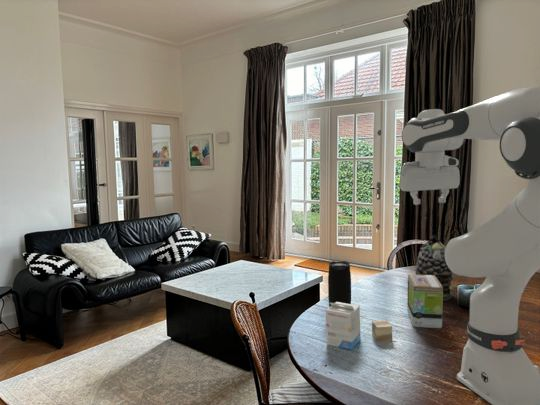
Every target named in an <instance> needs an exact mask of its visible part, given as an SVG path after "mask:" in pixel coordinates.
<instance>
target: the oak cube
mask: <svg viewBox="0 0 540 405" xmlns="http://www.w3.org/2000/svg"><path fill="white" fill-rule="evenodd" d="M371 337H372V338H374V340H375V341H376V342H377V343H383V342H393V325H392V324H391V323H390V322H389V321H388V320H387V319H383V320H380V319H379V320H372V321H371Z"/></svg>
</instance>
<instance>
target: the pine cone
mask: <svg viewBox="0 0 540 405" xmlns="http://www.w3.org/2000/svg"><path fill="white" fill-rule="evenodd" d="M445 248H446V244H443V243H442V241H441V240H440V239H438V238H437V235H436V234H432V237H431V238H429V239H428V241H426V243H423V245H422V246H421V247H420V248H419V252H418V255H417V258H416V260H417V261H416V267H415V270H414V271H415V273H414V275H435V277H436V278H437V279H438V281H439V282H440V284H441V285H442V287H443V301H449V300H450V299H451V298H452V295H453V294H452V291H453V290H454V286H453V285H452V280H453V279H454V278H453V274H454V273H453V272H452V271H451V270H450V269H449V267H448V266H447V264H446V261H445Z"/></svg>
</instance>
